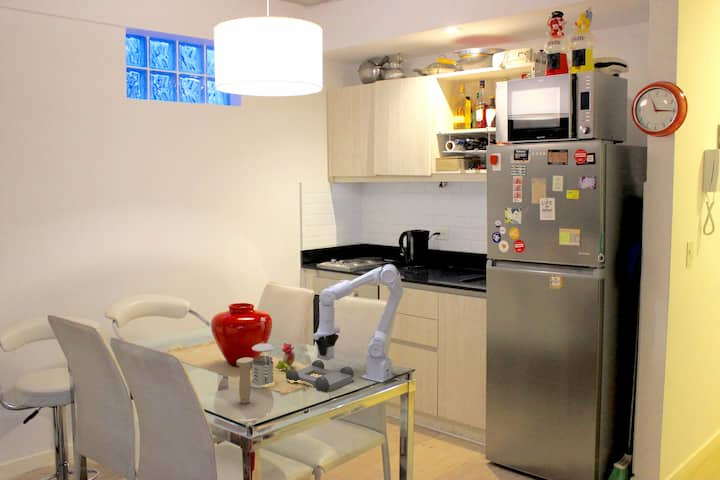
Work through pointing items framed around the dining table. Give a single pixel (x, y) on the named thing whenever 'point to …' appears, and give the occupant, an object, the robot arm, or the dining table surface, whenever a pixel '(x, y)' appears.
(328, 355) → the beige block
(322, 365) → the chassis
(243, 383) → the handle
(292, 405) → the dining table surface
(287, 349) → the bird rattle
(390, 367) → the robot arm
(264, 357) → the french press
